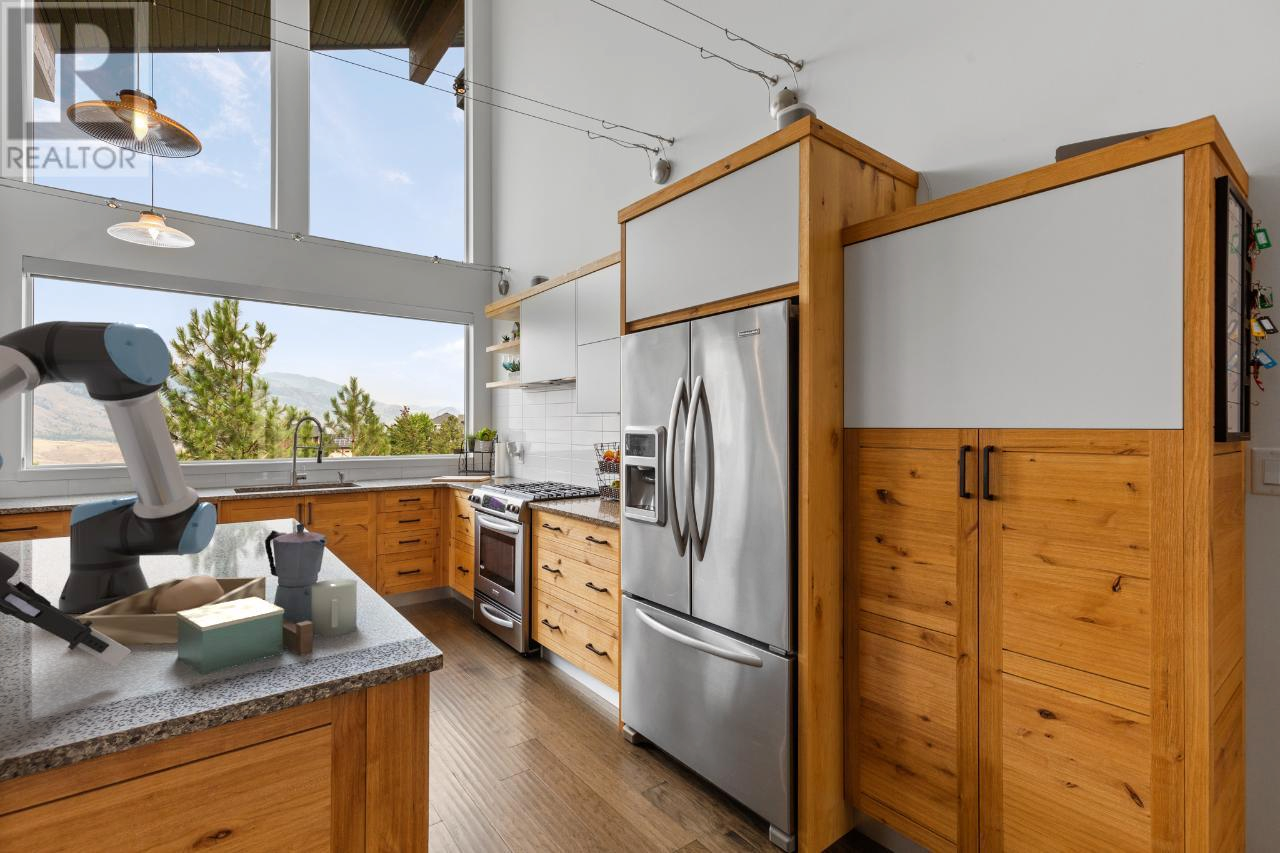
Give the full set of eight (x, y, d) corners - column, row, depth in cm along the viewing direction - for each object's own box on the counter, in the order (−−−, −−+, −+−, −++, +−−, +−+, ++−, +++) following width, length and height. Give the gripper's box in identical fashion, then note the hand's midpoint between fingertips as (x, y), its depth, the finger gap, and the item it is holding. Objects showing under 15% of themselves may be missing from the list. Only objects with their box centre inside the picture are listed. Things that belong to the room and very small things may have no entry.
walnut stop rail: (255, 630, 119) (255, 604, 119) (266, 628, 120) (266, 601, 120) (300, 655, 107) (301, 625, 107) (312, 652, 108) (312, 623, 108)
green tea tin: (176, 658, 105) (176, 612, 105) (255, 638, 115) (255, 596, 115) (201, 676, 98) (202, 627, 98) (283, 654, 108) (284, 609, 108)
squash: (179, 635, 116) (164, 590, 115) (137, 631, 126) (123, 590, 125) (239, 609, 125) (226, 567, 124) (195, 607, 135) (183, 569, 135)
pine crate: (174, 600, 138) (174, 578, 138) (265, 598, 140) (265, 576, 140) (73, 645, 110) (74, 618, 110) (190, 642, 112) (190, 615, 112)
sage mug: (311, 626, 122) (312, 581, 122) (355, 620, 126) (356, 577, 126) (310, 642, 113) (310, 594, 113) (357, 636, 117) (358, 589, 117)
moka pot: (309, 631, 119) (310, 529, 119) (242, 625, 122) (243, 525, 122) (342, 616, 128) (343, 521, 128) (279, 611, 131) (280, 518, 131)
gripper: (-71, 585, 84) (89, 669, 97) (-62, 603, 76) (111, 692, 89) (-14, 541, 88) (131, 627, 101) (0, 553, 80) (156, 645, 93)
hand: (122, 657), depth 95 cm, fingers closed
